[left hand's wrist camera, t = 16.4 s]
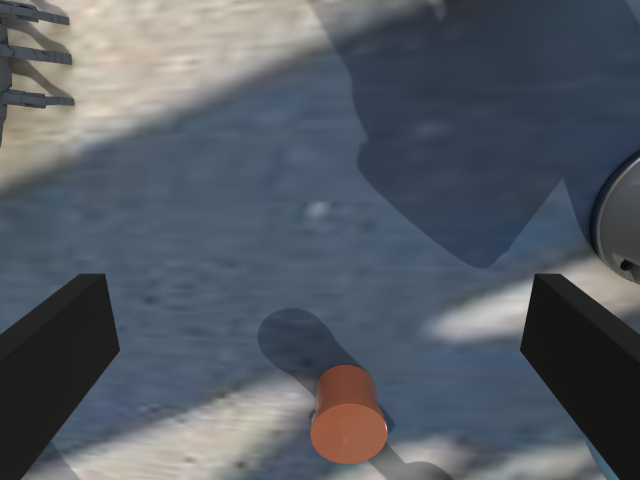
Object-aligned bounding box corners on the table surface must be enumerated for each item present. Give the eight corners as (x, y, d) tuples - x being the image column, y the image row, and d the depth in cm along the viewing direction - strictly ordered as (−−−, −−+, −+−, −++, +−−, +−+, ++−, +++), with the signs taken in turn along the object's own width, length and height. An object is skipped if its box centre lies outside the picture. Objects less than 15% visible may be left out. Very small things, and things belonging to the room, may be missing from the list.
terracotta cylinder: (380, 360, 48) (389, 404, 41) (377, 415, 50) (385, 464, 44) (311, 360, 48) (310, 404, 41) (311, 415, 50) (310, 464, 44)
